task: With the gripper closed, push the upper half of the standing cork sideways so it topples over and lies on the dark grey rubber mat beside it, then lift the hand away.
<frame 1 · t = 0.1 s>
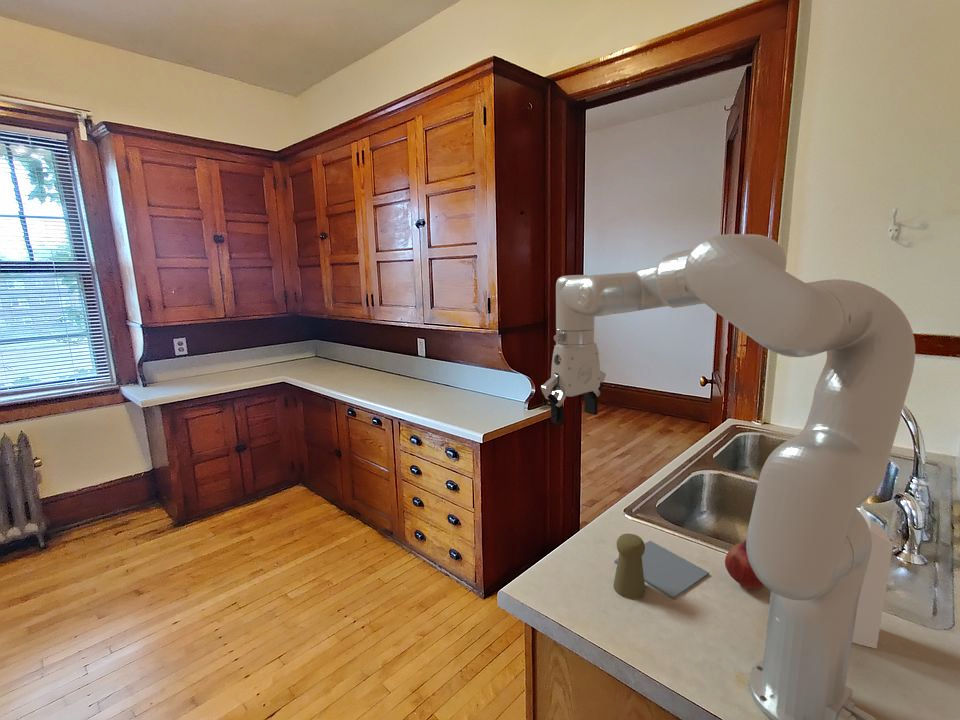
hand: (574, 418, 98), 31 cm above the counter, tool pointing down, fingers open, 9 cm apart
fruit: (746, 585, 92), on the counter
cork: (629, 589, 92), on the counter
grey mat: (660, 568, 98), on the counter
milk: (849, 631, 80), on the counter
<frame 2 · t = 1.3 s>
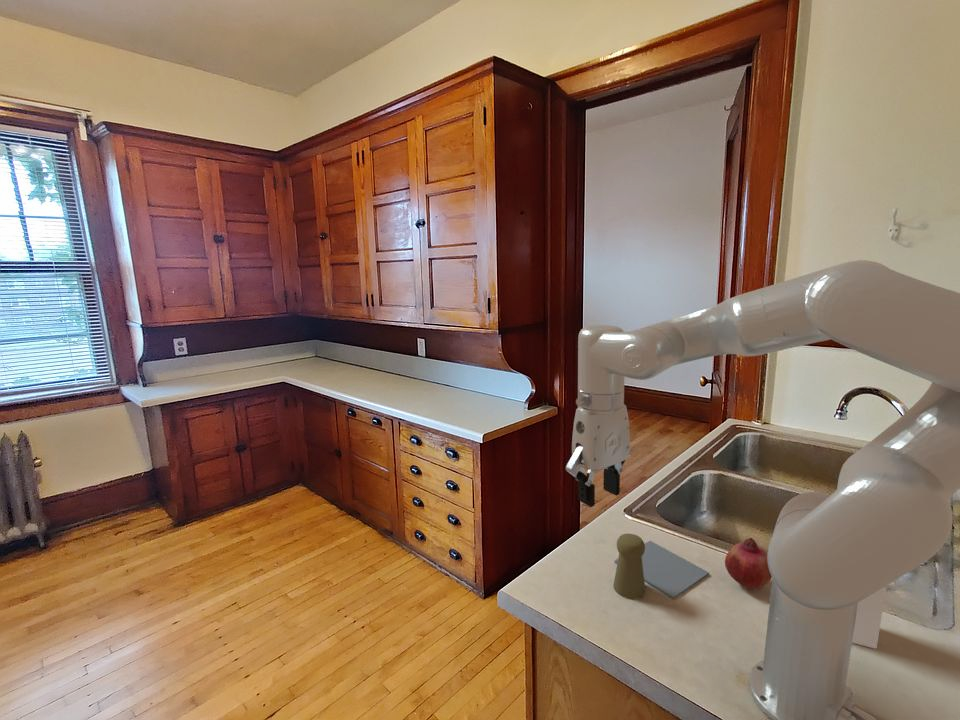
hand: (599, 496, 83), 22 cm above the counter, tool pointing down, fingers open, 5 cm apart
nothing on the counter moved.
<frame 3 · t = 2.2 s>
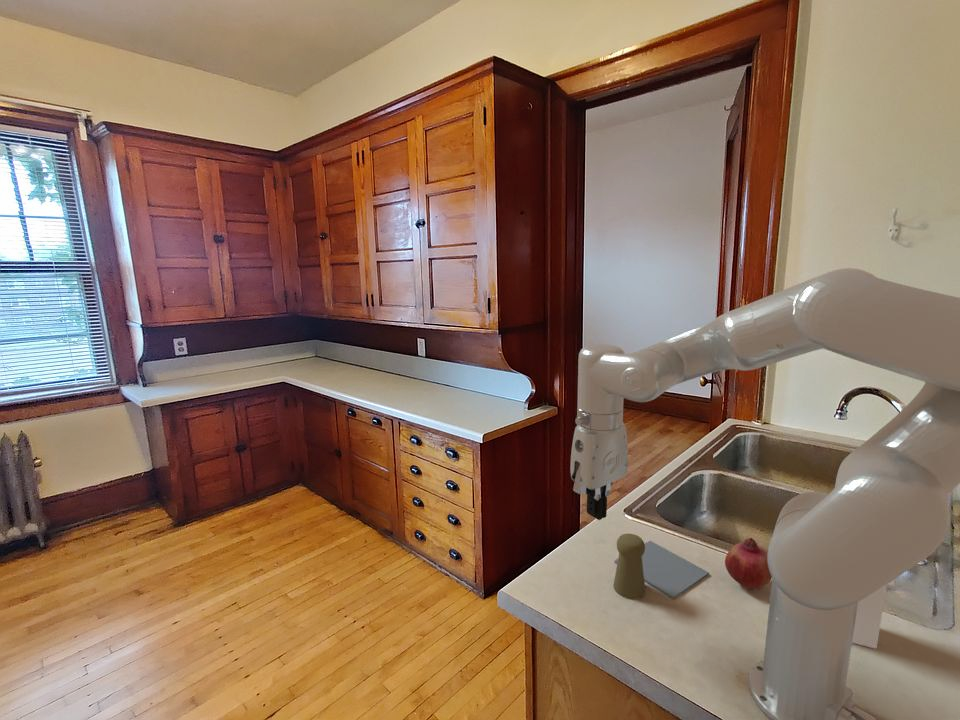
hand: (596, 515, 84), 19 cm above the counter, tool pointing down, fingers closed
nothing on the counter moved.
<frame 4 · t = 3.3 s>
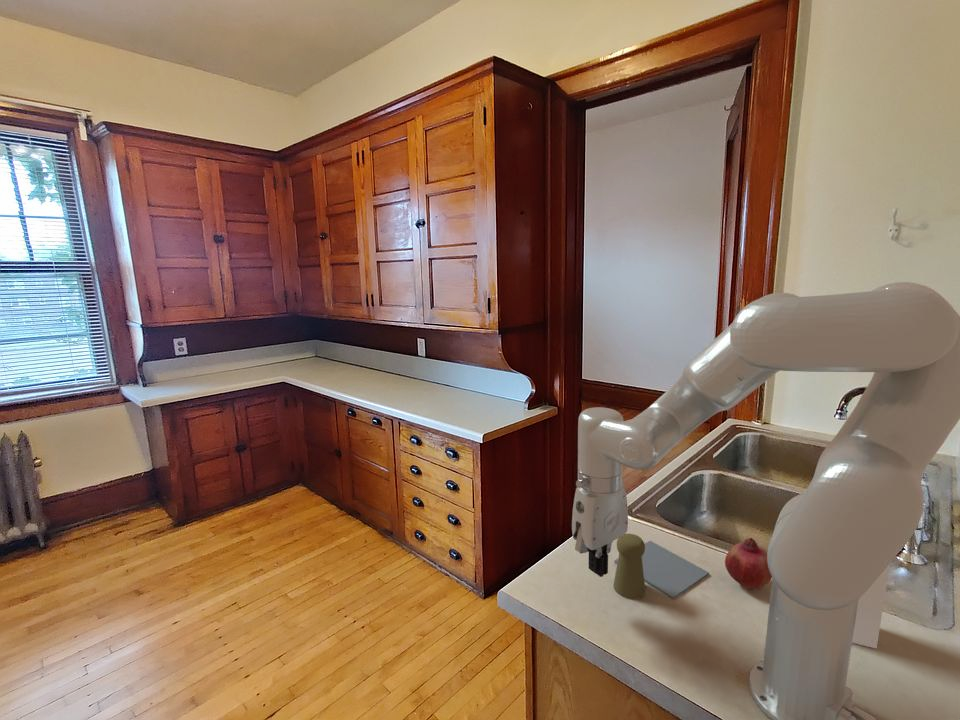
hand: (598, 571, 86), 8 cm above the counter, tool pointing down, fingers closed
nothing on the counter moved.
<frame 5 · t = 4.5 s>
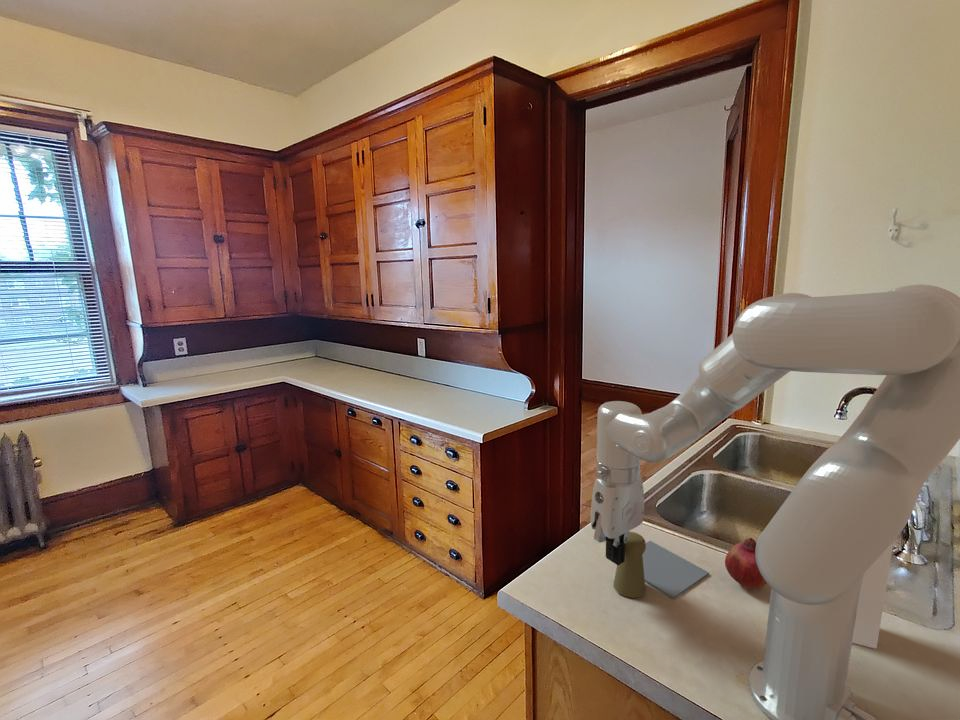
hand: (614, 560, 88), 8 cm above the counter, tool pointing down, fingers closed
cork: (629, 588, 92), on the counter, touching gripper
everything else where it was.
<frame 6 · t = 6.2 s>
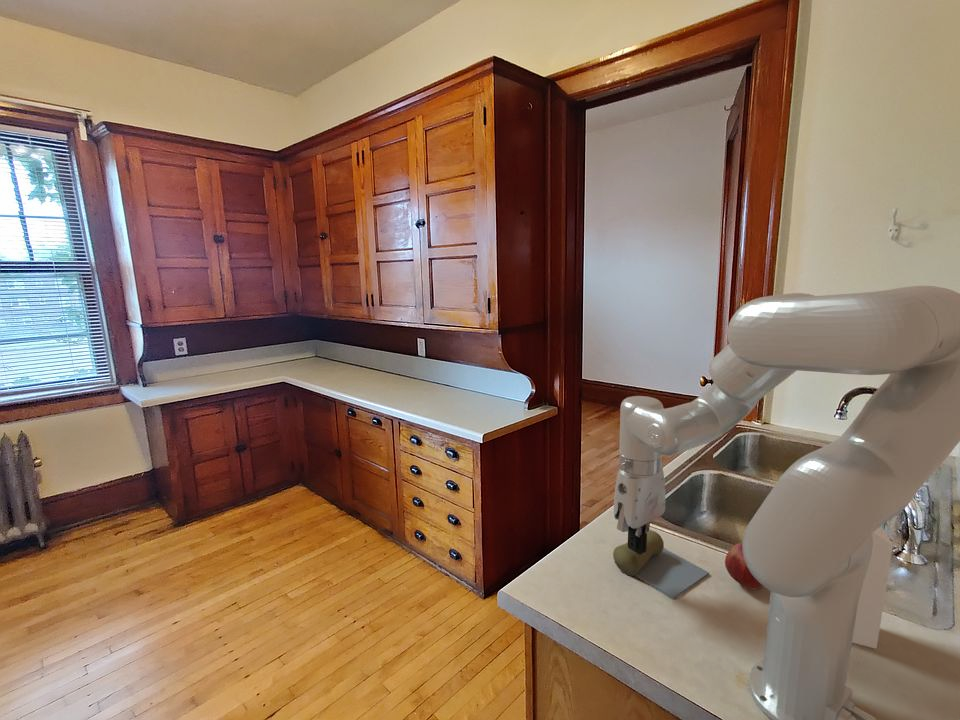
hand: (636, 549, 92), 8 cm above the counter, tool pointing down, fingers closed
cork: (624, 561, 95), point 3 cm above the counter, touching grey mat
everything else where it was.
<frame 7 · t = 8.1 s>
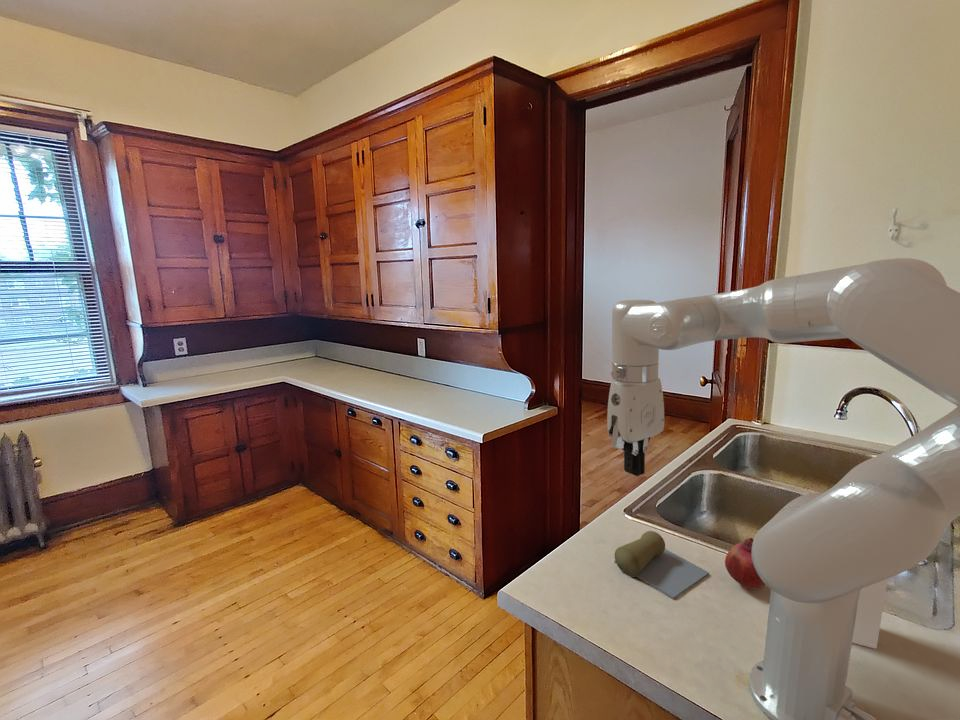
hand: (634, 472, 84), 26 cm above the counter, tool pointing down, fingers closed
nothing on the counter moved.
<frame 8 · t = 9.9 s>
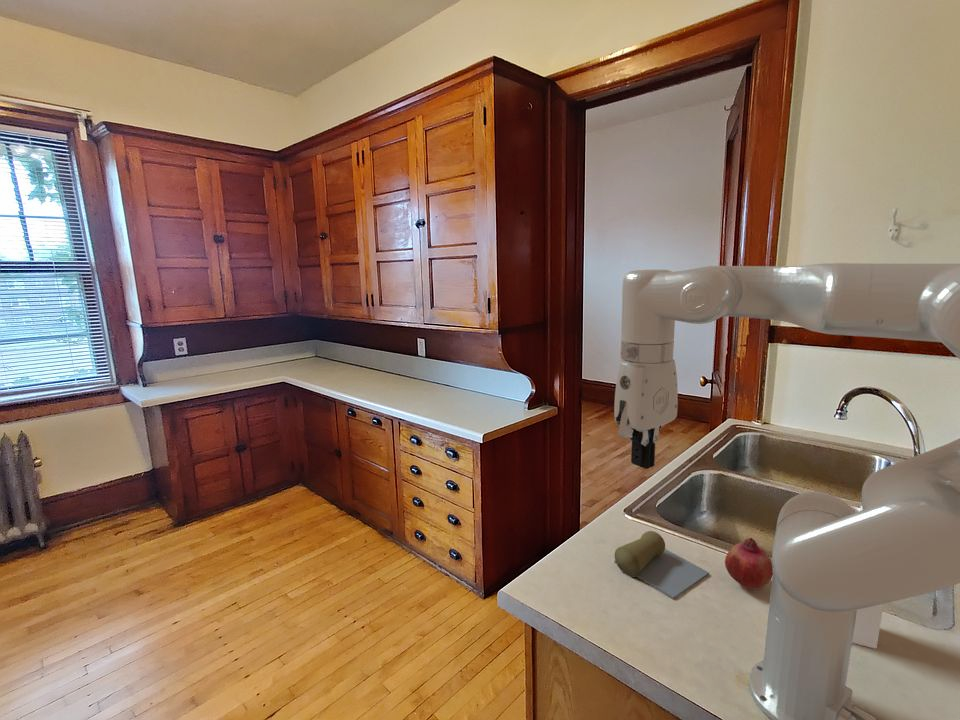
hand: (642, 464, 75), 31 cm above the counter, tool pointing down, fingers closed
nothing on the counter moved.
at the end: cork tilted 90°; cork touching grey mat, counter; the gripper is holding nothing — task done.
